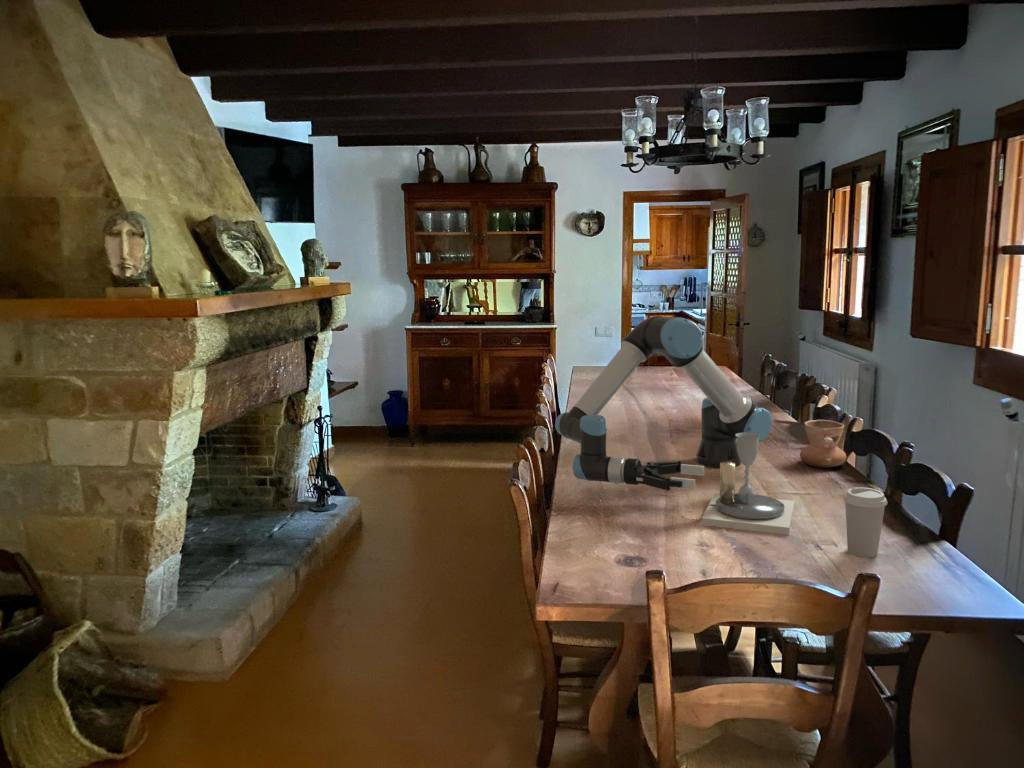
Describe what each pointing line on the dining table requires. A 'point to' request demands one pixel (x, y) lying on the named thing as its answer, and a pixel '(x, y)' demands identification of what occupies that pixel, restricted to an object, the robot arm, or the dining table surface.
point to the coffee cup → (864, 520)
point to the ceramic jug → (823, 444)
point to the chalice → (747, 456)
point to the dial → (744, 499)
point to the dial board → (767, 525)
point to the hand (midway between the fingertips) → (699, 477)
